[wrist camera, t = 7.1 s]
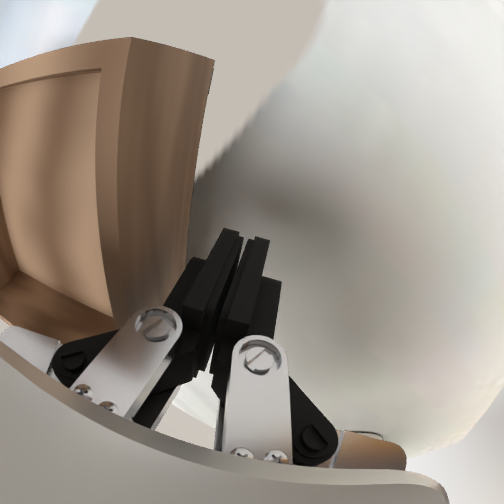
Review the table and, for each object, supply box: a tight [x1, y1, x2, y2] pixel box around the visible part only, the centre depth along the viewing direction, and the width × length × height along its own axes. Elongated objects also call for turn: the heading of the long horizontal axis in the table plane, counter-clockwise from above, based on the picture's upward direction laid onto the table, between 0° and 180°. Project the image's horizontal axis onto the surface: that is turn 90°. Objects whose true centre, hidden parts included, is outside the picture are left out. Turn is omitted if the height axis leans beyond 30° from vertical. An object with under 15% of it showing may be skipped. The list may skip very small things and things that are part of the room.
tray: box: [0, 37, 215, 344], centre depth 11 cm, size 14×14×9 cm
